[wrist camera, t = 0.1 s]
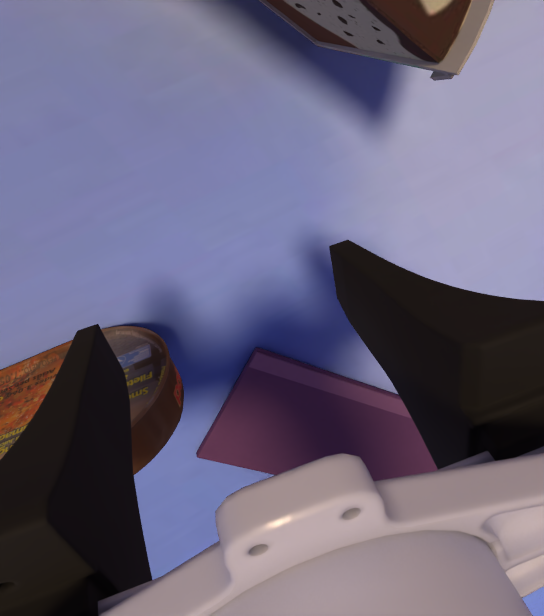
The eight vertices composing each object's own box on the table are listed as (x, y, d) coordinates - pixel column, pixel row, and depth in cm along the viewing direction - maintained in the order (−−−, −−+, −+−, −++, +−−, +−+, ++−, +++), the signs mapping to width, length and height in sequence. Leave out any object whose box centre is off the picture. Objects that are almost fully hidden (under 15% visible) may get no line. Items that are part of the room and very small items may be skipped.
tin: (159, 303, 26) (173, 405, 19) (183, 350, 28) (204, 461, 21) (-128, 420, 26) (-226, 573, 18) (-86, 462, 27) (-161, 617, 20)
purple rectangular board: (433, 507, 40) (437, 512, 39) (196, 452, 32) (196, 458, 31) (496, 427, 37) (500, 432, 37) (255, 346, 29) (257, 351, 29)
